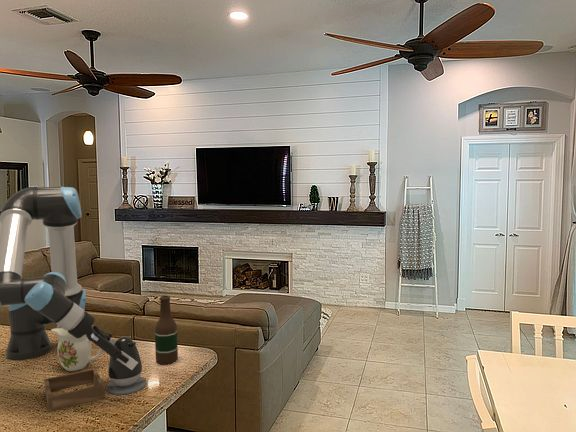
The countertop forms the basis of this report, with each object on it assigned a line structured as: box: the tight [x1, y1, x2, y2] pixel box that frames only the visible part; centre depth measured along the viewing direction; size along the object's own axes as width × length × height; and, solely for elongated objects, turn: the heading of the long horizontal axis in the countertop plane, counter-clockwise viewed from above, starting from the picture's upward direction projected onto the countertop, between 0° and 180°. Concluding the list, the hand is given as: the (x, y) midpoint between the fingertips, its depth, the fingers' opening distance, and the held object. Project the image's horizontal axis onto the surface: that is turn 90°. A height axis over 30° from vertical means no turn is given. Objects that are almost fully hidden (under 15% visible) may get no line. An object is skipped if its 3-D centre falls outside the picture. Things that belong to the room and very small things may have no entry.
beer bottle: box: [154, 295, 179, 366], centre depth 165 cm, size 8×8×24 cm
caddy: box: [43, 367, 105, 412], centre depth 140 cm, size 15×15×4 cm
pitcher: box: [50, 327, 104, 372], centre depth 161 cm, size 11×18×14 cm, turn 88°
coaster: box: [106, 376, 147, 396], centre depth 146 cm, size 12×12×1 cm
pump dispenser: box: [107, 335, 143, 387], centre depth 145 cm, size 10×10×15 cm
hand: (129, 358), depth 146 cm, fingers open, 13 cm apart
